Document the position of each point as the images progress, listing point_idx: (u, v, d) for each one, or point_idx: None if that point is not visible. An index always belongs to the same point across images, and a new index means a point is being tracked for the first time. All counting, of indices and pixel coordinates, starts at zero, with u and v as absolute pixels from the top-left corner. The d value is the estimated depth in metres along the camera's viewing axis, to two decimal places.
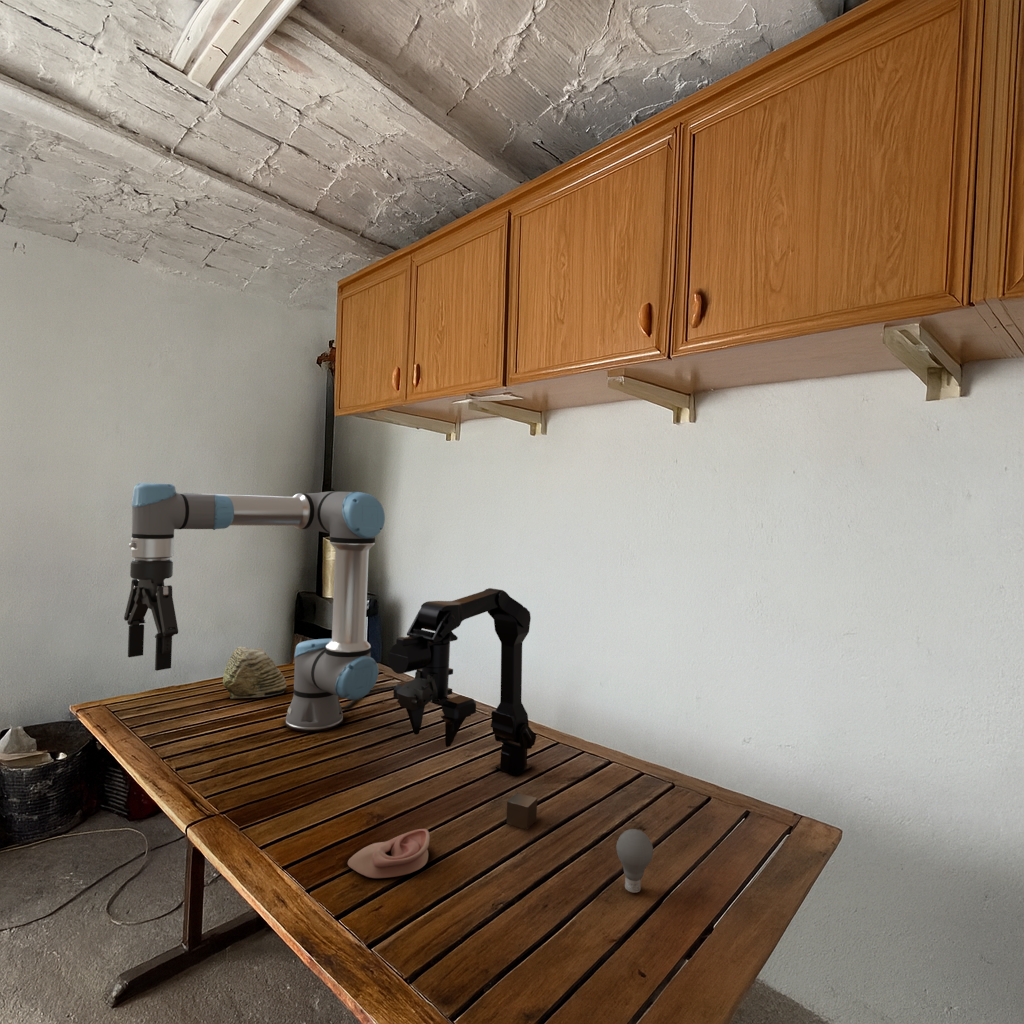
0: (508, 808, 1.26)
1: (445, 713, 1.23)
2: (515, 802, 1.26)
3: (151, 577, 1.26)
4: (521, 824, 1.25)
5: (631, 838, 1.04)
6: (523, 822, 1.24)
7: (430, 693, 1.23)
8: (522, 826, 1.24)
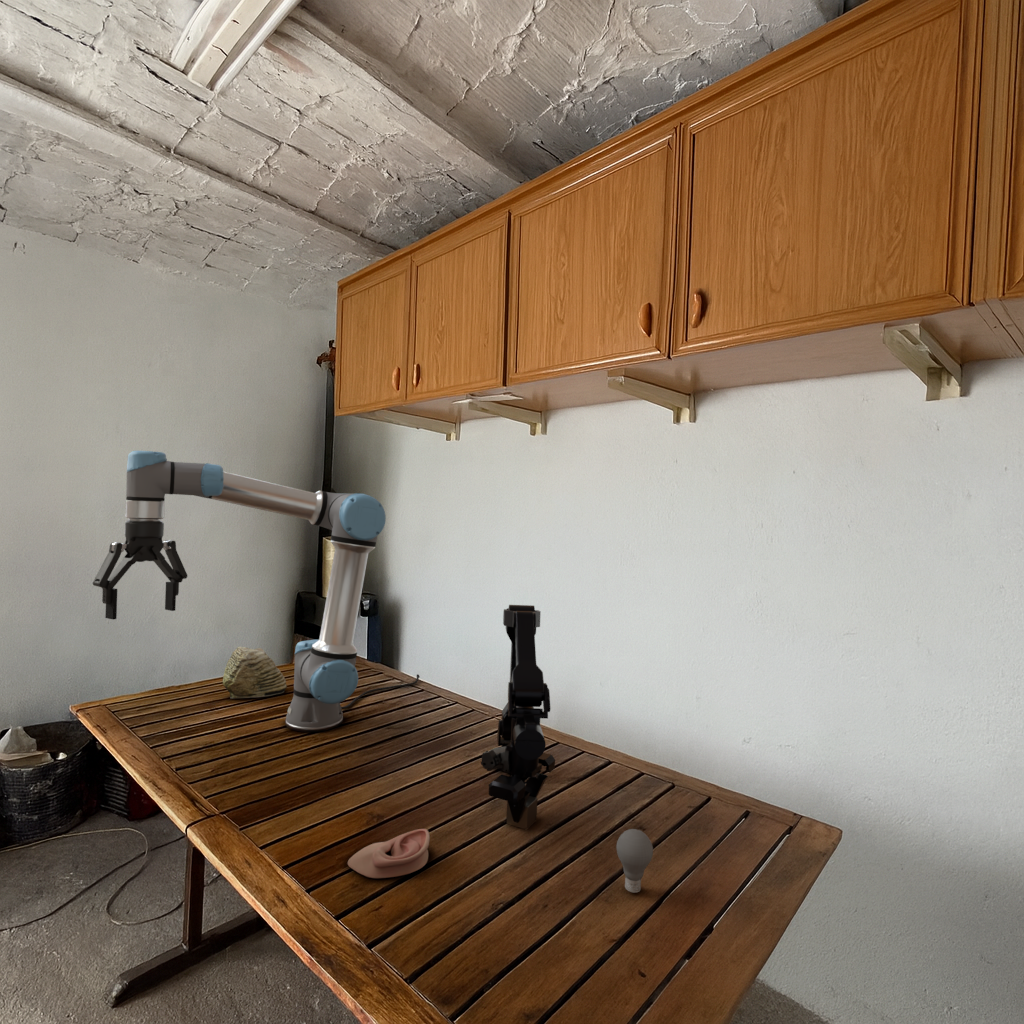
0: (508, 808, 1.26)
1: None
2: None
3: (125, 534, 1.40)
4: (521, 824, 1.25)
5: (631, 838, 1.04)
6: (523, 822, 1.24)
7: (491, 760, 1.25)
8: (522, 826, 1.24)
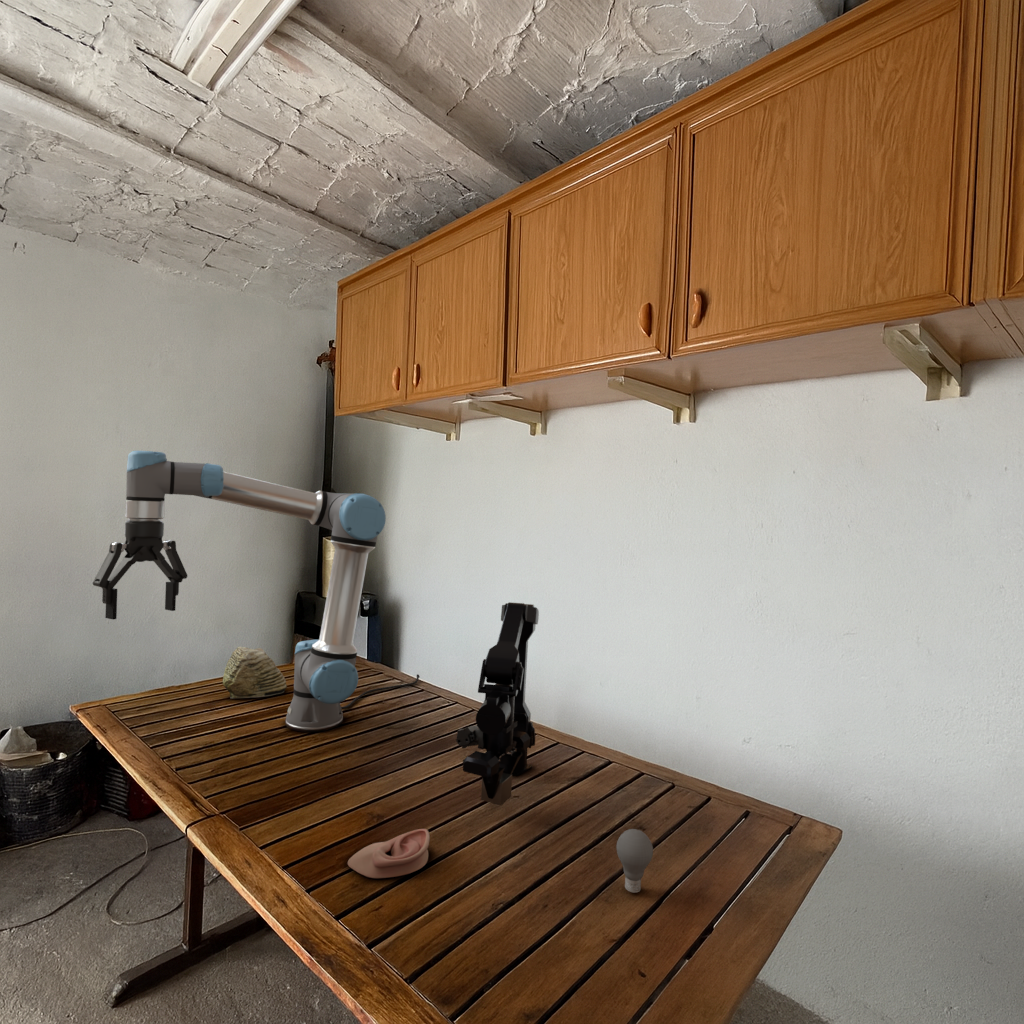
0: (483, 785, 1.27)
1: None
2: None
3: (125, 534, 1.40)
4: (496, 800, 1.26)
5: (631, 838, 1.04)
6: (497, 798, 1.26)
7: (465, 737, 1.27)
8: (497, 802, 1.26)
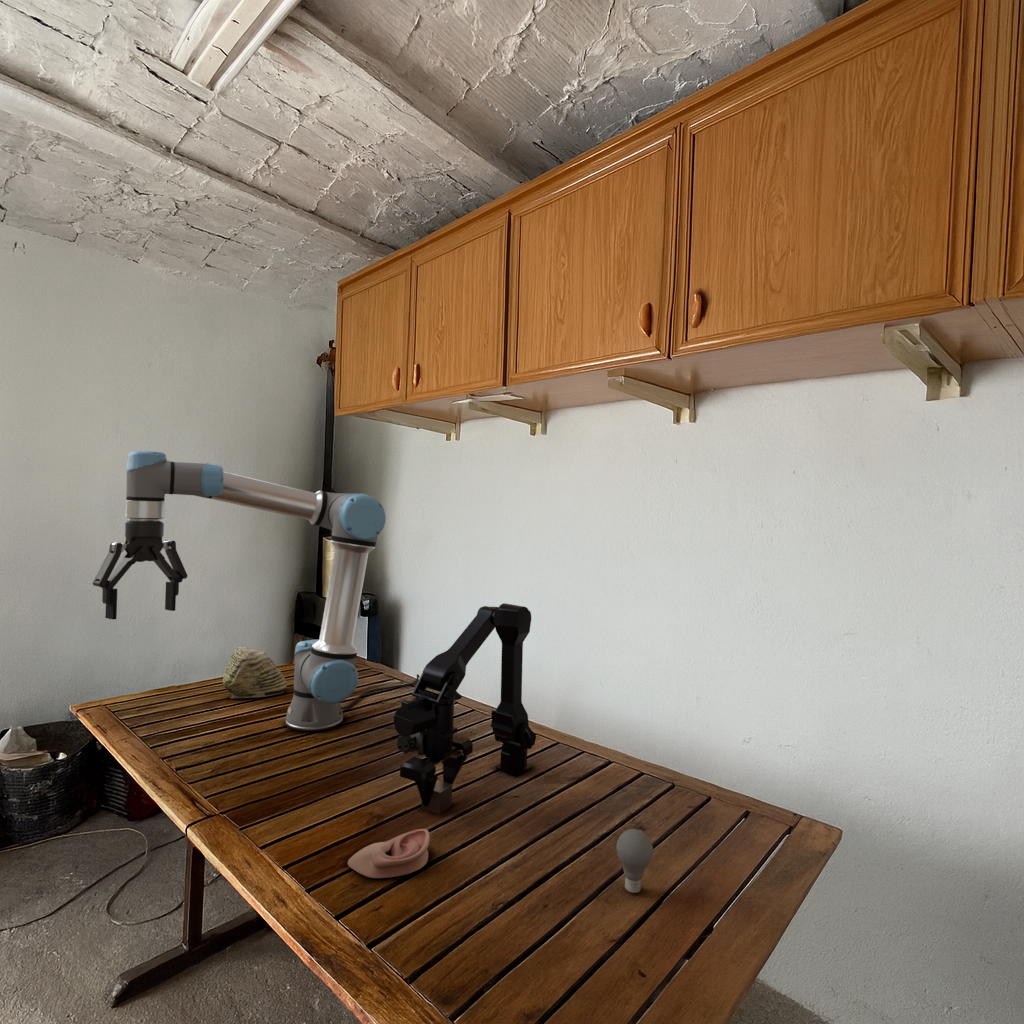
0: None
1: None
2: None
3: (125, 534, 1.40)
4: (434, 809, 1.29)
5: (631, 838, 1.04)
6: (436, 807, 1.29)
7: (405, 743, 1.30)
8: (435, 811, 1.29)
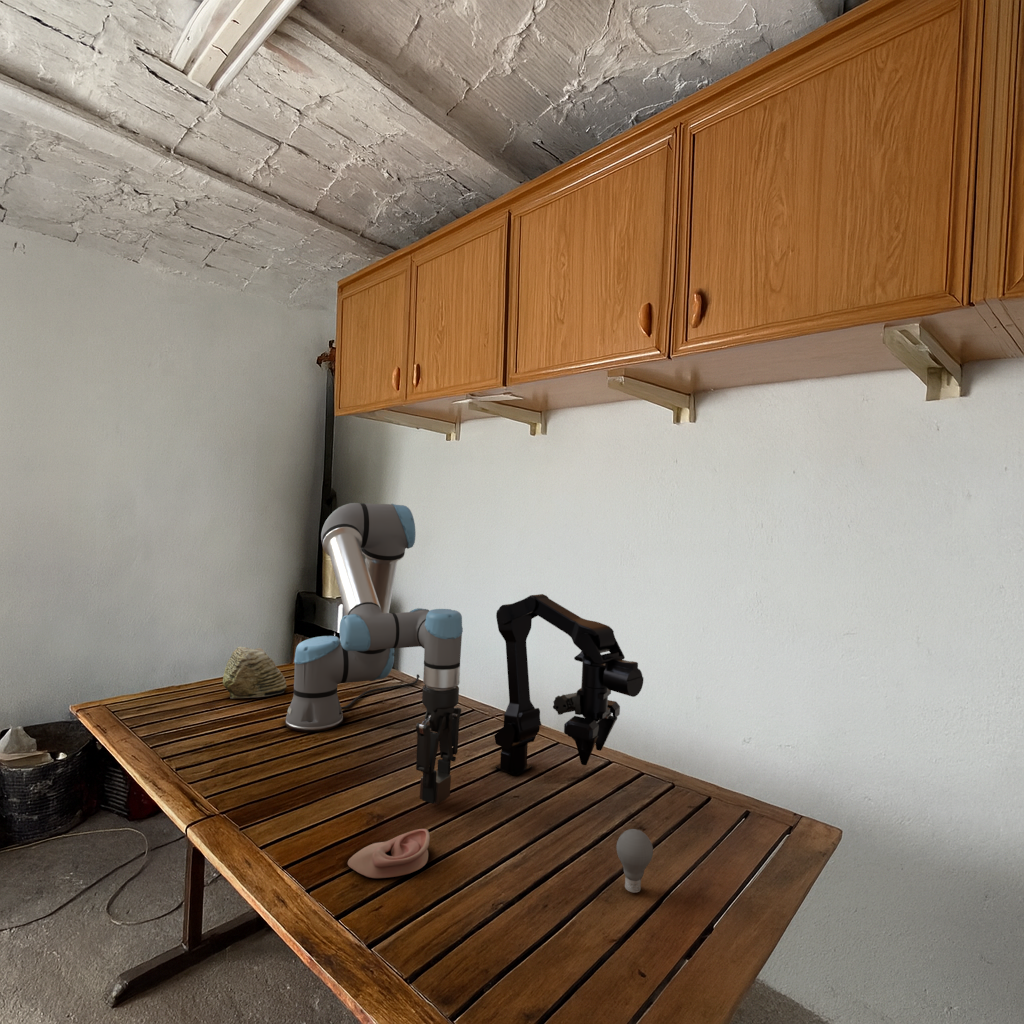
0: (421, 784, 1.31)
1: None
2: None
3: (425, 704, 1.29)
4: None
5: (631, 838, 1.04)
6: None
7: (563, 703, 1.34)
8: None
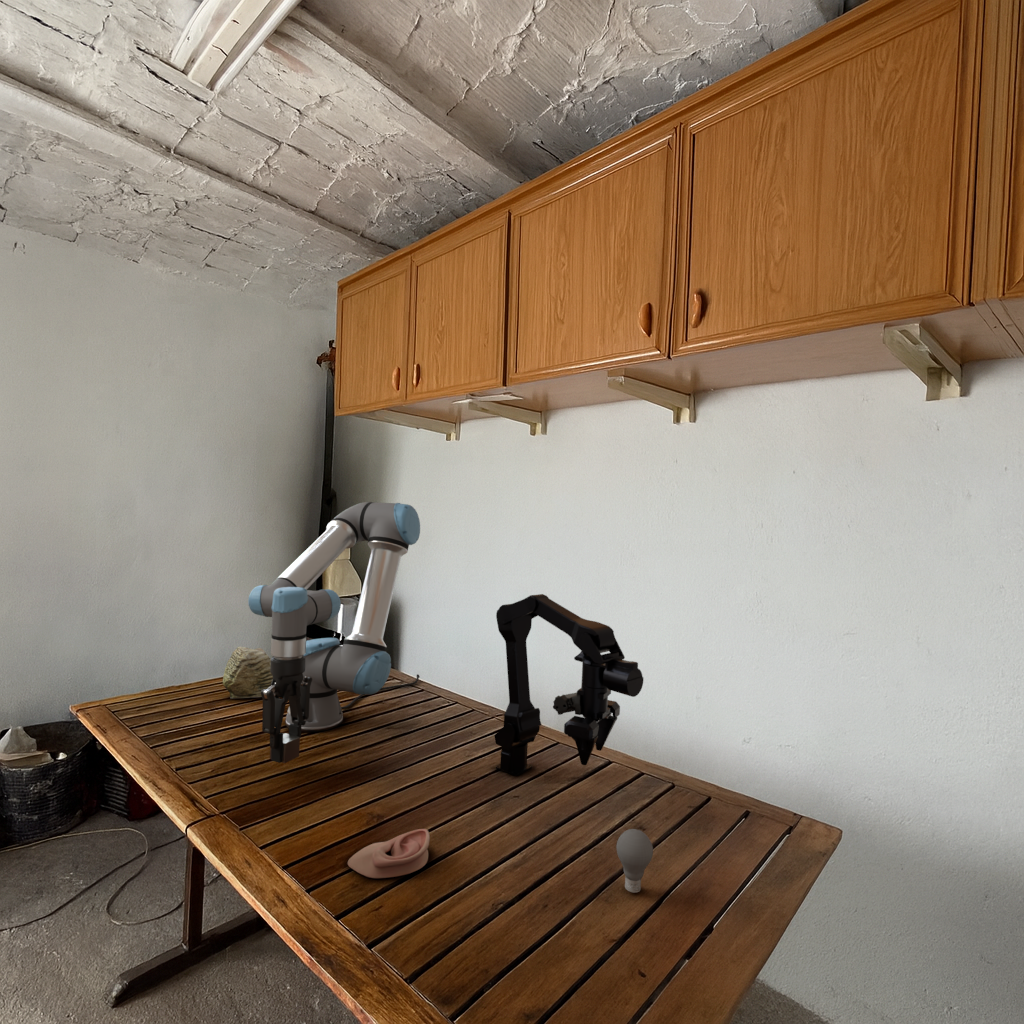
0: None
1: None
2: None
3: (271, 673, 1.42)
4: None
5: (631, 838, 1.04)
6: (282, 757, 1.42)
7: (563, 703, 1.34)
8: None
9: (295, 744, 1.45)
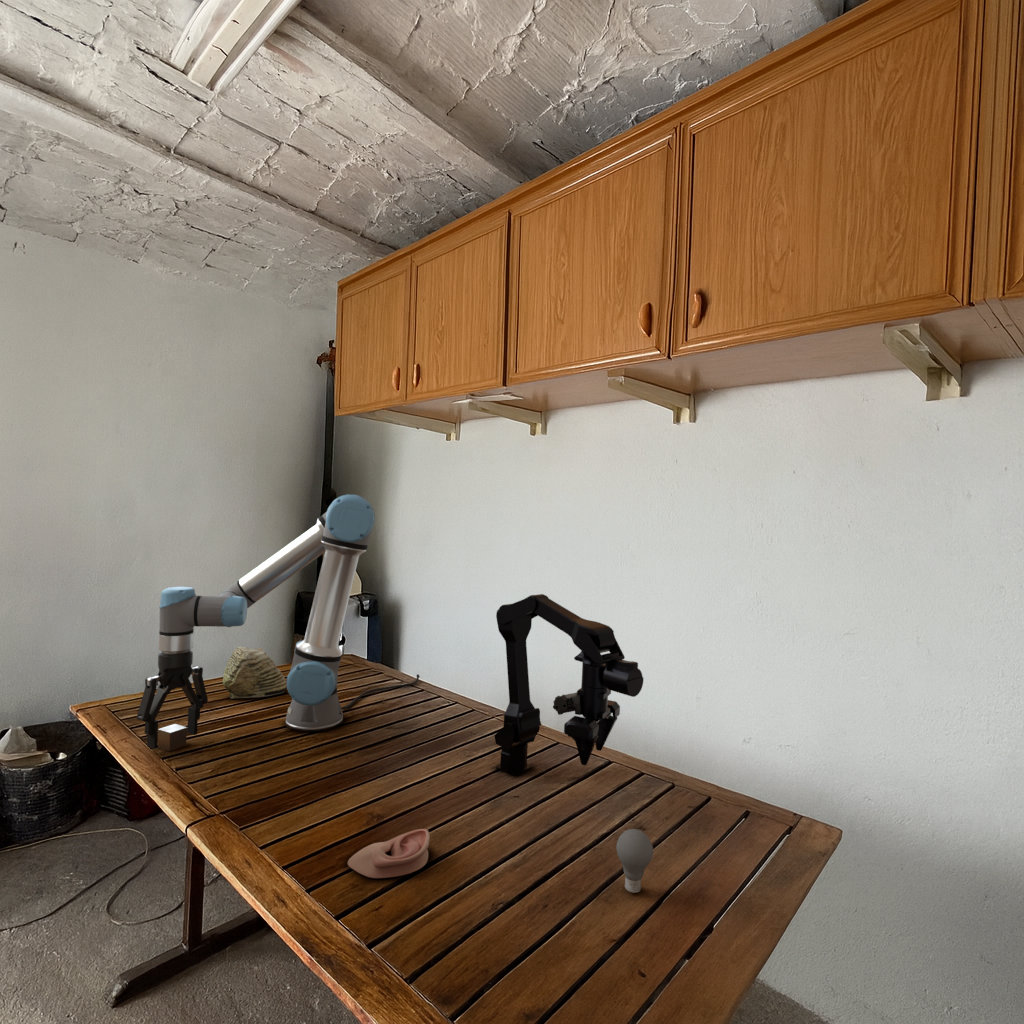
0: (158, 735, 1.55)
1: None
2: (163, 729, 1.55)
3: (158, 666, 1.53)
4: (166, 747, 1.54)
5: (631, 838, 1.04)
6: (167, 745, 1.54)
7: (563, 703, 1.34)
8: (167, 748, 1.54)
9: (181, 734, 1.56)
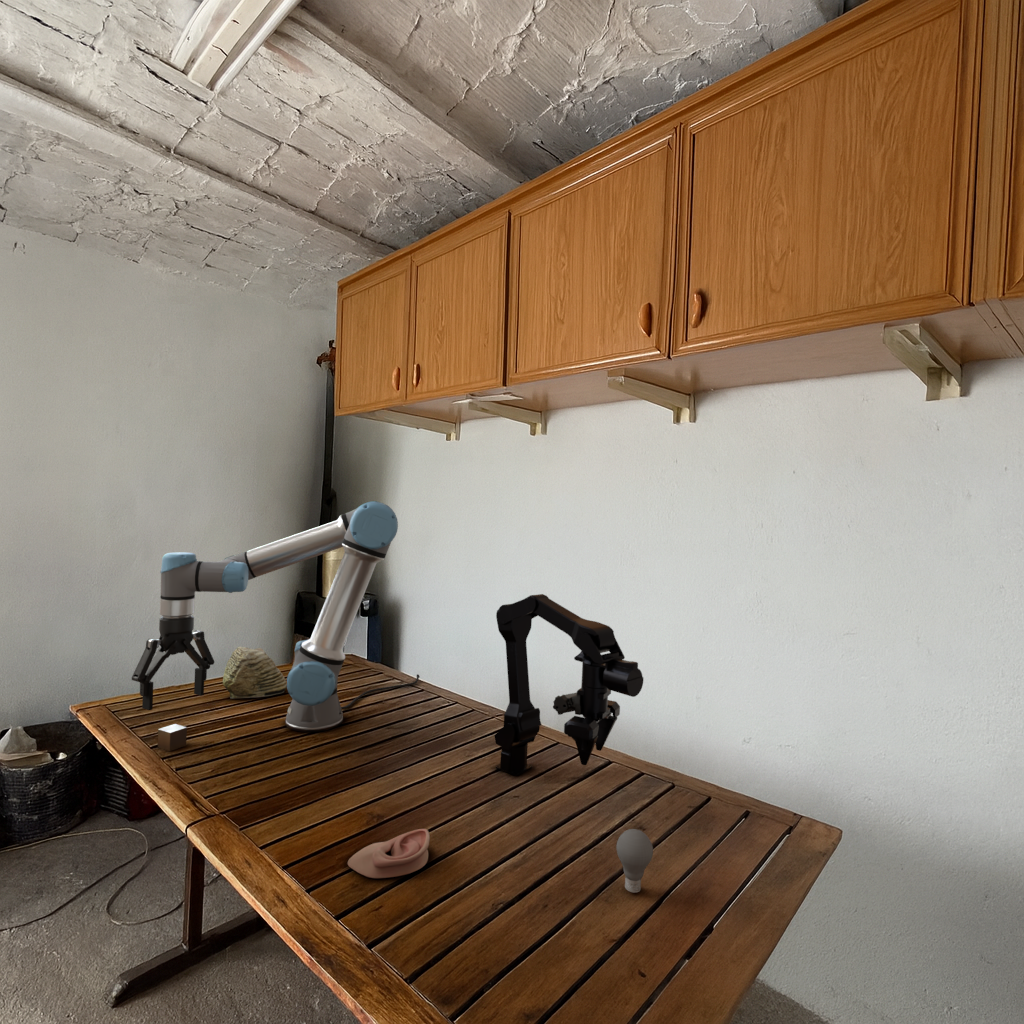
0: (158, 735, 1.55)
1: None
2: (163, 730, 1.55)
3: (159, 630, 1.53)
4: (166, 747, 1.54)
5: (631, 838, 1.04)
6: (167, 745, 1.54)
7: (563, 703, 1.34)
8: (167, 748, 1.54)
9: (181, 734, 1.56)
